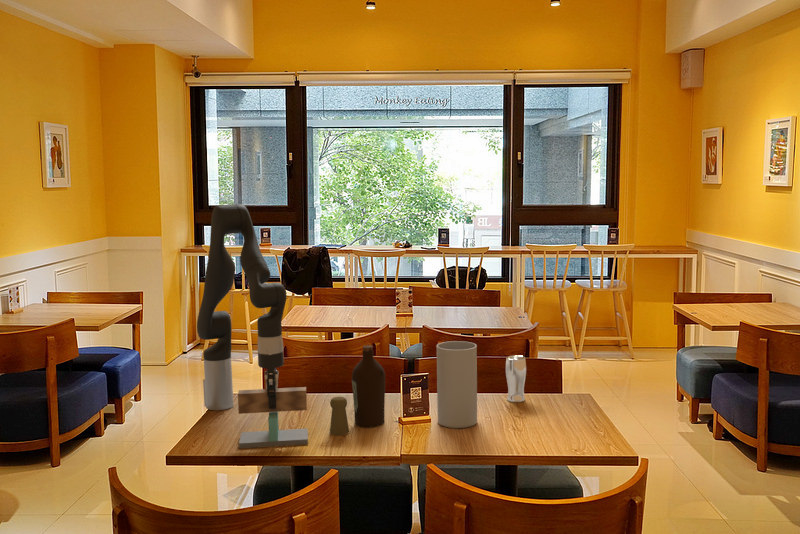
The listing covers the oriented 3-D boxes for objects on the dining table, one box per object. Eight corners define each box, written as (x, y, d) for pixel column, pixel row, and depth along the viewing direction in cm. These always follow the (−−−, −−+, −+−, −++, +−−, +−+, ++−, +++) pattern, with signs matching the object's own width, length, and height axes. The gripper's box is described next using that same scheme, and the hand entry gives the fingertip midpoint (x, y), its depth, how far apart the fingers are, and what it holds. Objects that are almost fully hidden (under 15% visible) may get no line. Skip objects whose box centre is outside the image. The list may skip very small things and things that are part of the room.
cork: (334, 436, 240) (333, 401, 239) (326, 430, 245) (325, 396, 244) (352, 433, 243) (351, 398, 241) (344, 427, 248) (343, 393, 247)
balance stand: (239, 448, 231) (237, 420, 230) (241, 437, 241) (240, 410, 240) (307, 444, 234) (306, 416, 233) (307, 433, 244) (306, 406, 242)
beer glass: (529, 398, 275) (529, 356, 273) (521, 403, 269) (521, 360, 267) (510, 396, 279) (510, 354, 277) (502, 401, 273) (502, 358, 271)
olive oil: (386, 417, 258) (384, 342, 254) (386, 427, 247) (384, 349, 244) (353, 418, 257) (351, 343, 254) (352, 428, 247) (350, 350, 244)
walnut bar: (238, 413, 233) (237, 394, 232) (239, 409, 237) (238, 390, 236) (306, 410, 235) (306, 390, 235) (306, 406, 239) (306, 386, 239)
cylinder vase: (450, 414, 259) (450, 339, 256) (484, 420, 252) (483, 344, 249) (430, 424, 249) (428, 347, 246) (464, 431, 242) (463, 351, 239)
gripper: (258, 345, 241) (261, 400, 243) (256, 356, 227) (258, 414, 229) (283, 344, 241) (285, 399, 244) (282, 355, 227) (285, 412, 230)
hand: (272, 406), depth 236 cm, fingers closed on walnut bar, 4 cm apart
